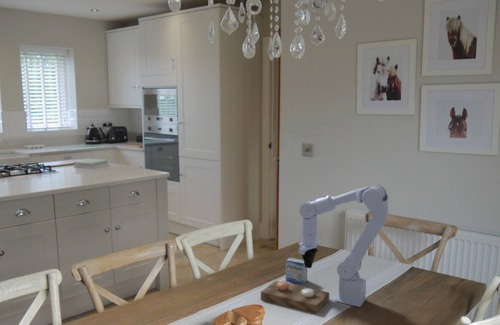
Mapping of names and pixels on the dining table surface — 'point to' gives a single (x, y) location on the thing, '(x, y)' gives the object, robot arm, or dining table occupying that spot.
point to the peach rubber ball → (282, 286)
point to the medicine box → (296, 270)
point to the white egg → (307, 293)
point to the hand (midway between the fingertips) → (308, 267)
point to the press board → (295, 297)
